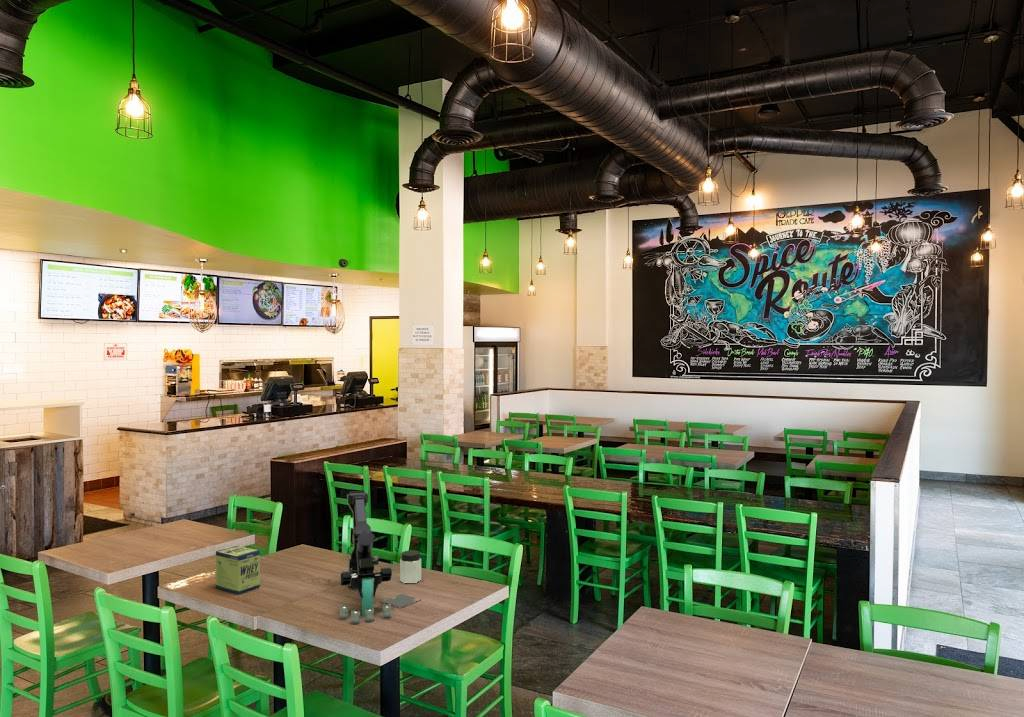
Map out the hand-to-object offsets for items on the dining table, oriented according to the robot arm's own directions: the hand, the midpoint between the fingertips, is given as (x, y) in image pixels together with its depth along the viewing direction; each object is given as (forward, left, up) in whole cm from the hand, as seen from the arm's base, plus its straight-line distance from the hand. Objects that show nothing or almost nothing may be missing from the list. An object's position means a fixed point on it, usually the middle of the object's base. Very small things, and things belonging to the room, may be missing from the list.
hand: (367, 597), depth 259 cm
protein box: (-67, -11, -7) cm, 68 cm away
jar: (-16, +38, -7) cm, 42 cm away
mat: (-1, +18, -7) cm, 19 cm away
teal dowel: (-1, +1, -7) cm, 7 cm away
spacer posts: (+1, -2, -7) cm, 7 cm away
